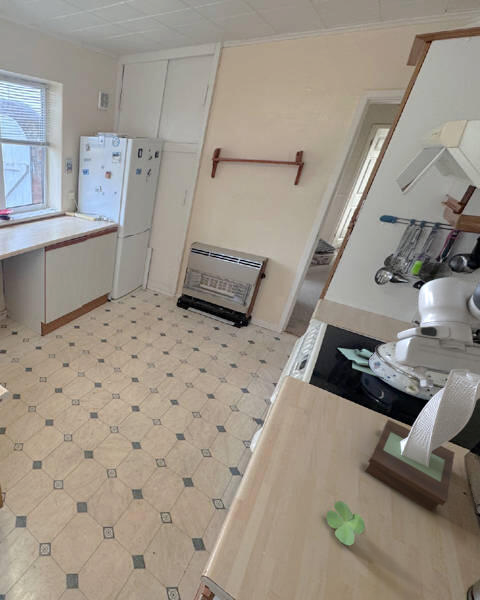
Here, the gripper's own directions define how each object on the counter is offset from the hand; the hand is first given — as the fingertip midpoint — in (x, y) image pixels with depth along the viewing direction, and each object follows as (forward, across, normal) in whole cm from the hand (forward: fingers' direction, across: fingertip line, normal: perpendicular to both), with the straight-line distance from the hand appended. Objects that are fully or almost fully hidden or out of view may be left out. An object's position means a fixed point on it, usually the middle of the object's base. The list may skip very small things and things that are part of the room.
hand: (450, 392), depth 78 cm
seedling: (+37, +23, +2) cm, 44 cm away
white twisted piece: (+16, 0, -12) cm, 20 cm away
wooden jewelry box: (+19, 0, -15) cm, 25 cm away
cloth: (-20, -15, -54) cm, 60 cm away
